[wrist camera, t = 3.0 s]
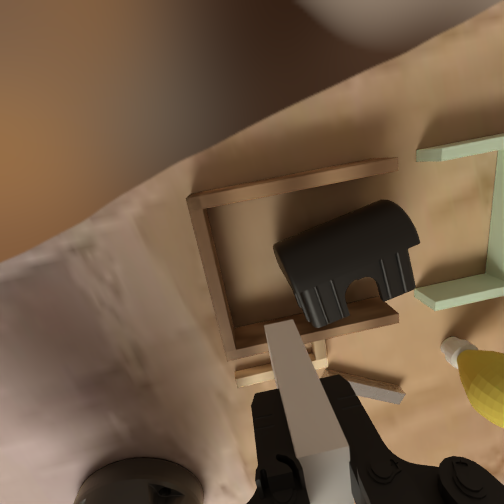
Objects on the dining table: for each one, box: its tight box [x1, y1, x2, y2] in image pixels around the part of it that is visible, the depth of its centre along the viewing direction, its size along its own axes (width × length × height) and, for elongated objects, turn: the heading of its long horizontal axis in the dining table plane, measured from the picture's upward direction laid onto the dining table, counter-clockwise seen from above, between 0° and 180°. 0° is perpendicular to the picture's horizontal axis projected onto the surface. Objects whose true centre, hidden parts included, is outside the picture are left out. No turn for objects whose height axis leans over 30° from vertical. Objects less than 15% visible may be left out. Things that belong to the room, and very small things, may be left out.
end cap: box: [273, 200, 420, 328], centre depth 24 cm, size 10×7×7 cm
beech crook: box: [235, 339, 328, 388], centre depth 29 cm, size 10×5×1 cm, turn 101°
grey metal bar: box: [322, 369, 406, 404], centre depth 32 cm, size 10×2×2 cm, turn 70°
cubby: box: [186, 157, 399, 361], centre depth 25 cm, size 16×15×4 cm
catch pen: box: [414, 133, 504, 311], centre depth 26 cm, size 9×15×3 cm, turn 10°
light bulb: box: [441, 337, 504, 428], centre depth 27 cm, size 7×7×10 cm
